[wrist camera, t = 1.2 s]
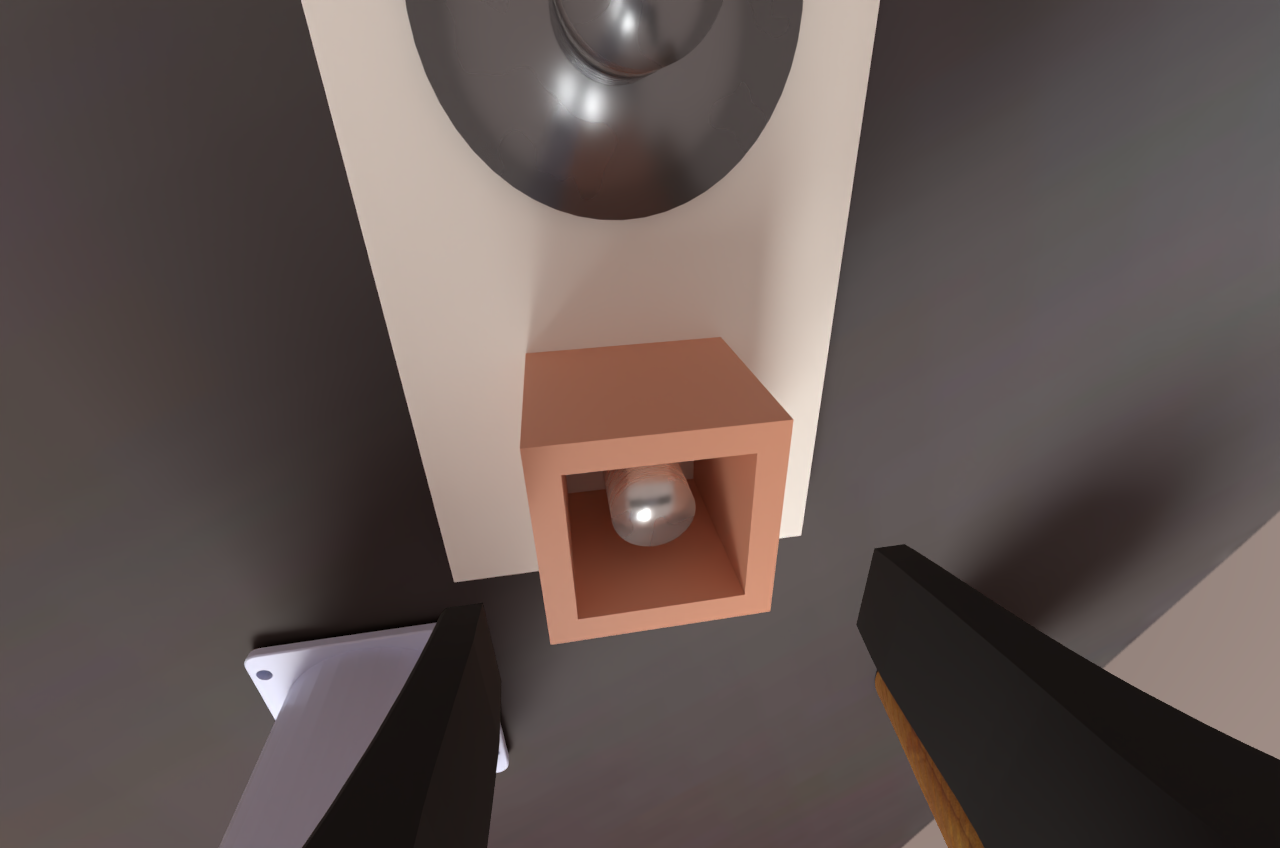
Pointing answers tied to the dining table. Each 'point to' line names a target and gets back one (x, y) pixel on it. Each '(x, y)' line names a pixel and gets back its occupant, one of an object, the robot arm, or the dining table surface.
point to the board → (584, 262)
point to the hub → (608, 92)
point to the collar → (641, 436)
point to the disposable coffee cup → (930, 778)
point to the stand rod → (649, 503)
